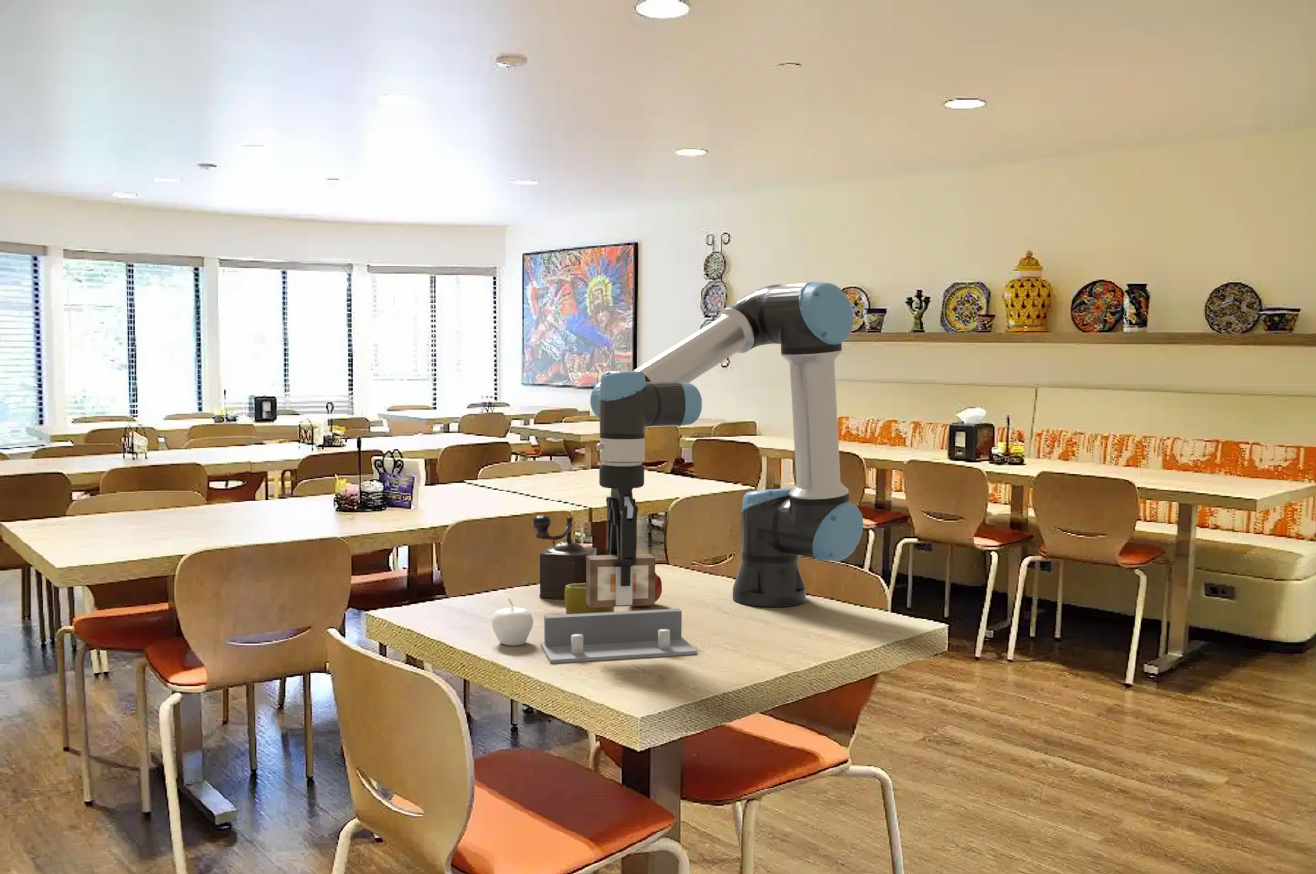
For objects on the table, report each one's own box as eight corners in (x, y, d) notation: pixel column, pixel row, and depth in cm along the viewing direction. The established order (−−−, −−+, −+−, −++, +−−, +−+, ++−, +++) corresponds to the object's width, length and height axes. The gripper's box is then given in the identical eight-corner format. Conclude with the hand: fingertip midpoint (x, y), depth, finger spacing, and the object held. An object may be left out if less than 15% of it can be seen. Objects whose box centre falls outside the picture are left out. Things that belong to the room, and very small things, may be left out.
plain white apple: (495, 638, 195) (495, 593, 195) (535, 638, 195) (535, 594, 194) (488, 648, 188) (488, 602, 188) (529, 649, 188) (529, 603, 187)
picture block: (649, 599, 188) (649, 553, 187) (655, 605, 184) (655, 557, 183) (586, 602, 185) (586, 555, 185) (590, 608, 181) (590, 560, 180)
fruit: (667, 609, 218) (667, 569, 218) (627, 611, 216) (627, 571, 216) (657, 600, 226) (657, 562, 225) (619, 602, 224) (619, 564, 223)
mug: (615, 626, 196) (602, 572, 198) (563, 640, 199) (550, 586, 201) (634, 623, 208) (621, 572, 210) (585, 637, 210) (572, 586, 212)
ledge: (679, 638, 196) (679, 607, 196) (696, 654, 185) (697, 621, 185) (540, 646, 190) (540, 614, 189) (550, 663, 179) (550, 629, 179)
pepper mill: (547, 588, 238) (547, 505, 236) (597, 590, 236) (597, 507, 235) (529, 604, 222) (528, 516, 221) (582, 606, 221) (582, 517, 219)
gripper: (590, 458, 190) (589, 591, 192) (610, 468, 174) (609, 614, 175) (632, 458, 192) (630, 590, 194) (656, 468, 175) (654, 612, 177)
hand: (620, 601), depth 184 cm, fingers closed on picture block, 4 cm apart
